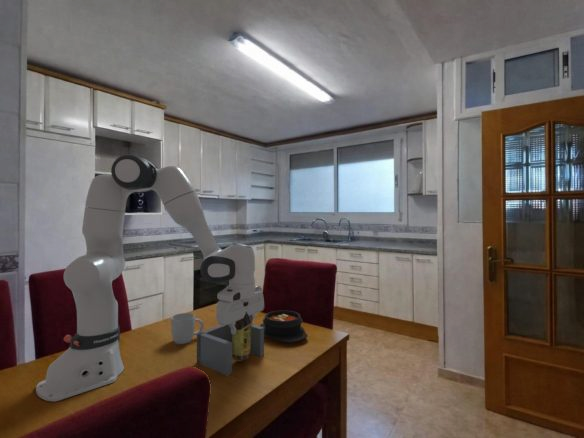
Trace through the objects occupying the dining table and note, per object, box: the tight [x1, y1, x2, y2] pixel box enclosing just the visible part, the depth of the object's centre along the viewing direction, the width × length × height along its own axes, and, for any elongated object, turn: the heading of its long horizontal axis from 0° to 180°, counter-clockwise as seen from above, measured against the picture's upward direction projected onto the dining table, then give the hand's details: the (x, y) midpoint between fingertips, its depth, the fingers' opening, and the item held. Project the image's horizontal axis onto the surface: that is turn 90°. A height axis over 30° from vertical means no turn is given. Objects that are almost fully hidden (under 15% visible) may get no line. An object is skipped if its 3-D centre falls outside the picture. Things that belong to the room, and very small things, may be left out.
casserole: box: [259, 309, 308, 343], centre depth 131 cm, size 25×19×8 cm
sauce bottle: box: [232, 302, 251, 361], centre depth 107 cm, size 7×6×20 cm
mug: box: [170, 312, 205, 345], centre depth 125 cm, size 13×9×10 cm
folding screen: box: [196, 324, 265, 376], centre depth 110 cm, size 18×15×10 cm
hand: (242, 330), depth 107 cm, fingers closed on sauce bottle, 6 cm apart
